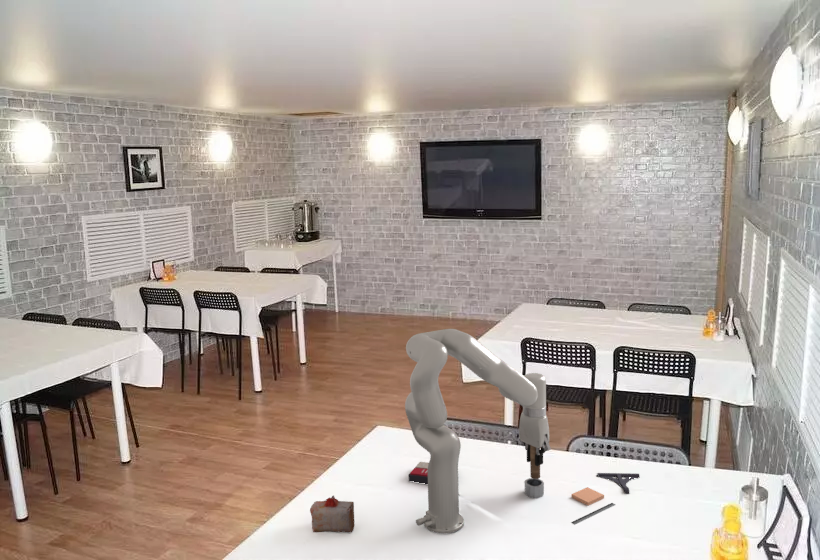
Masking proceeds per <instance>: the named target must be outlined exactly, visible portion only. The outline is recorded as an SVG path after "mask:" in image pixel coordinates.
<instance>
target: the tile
mask: <svg viewBox="0 0 820 560" xmlns="http://www.w3.org/2000/svg"><path fill="white" fill-rule="evenodd" d="M571 498H572V499H574V500H576V501H578V502H580V503H582V504H584V505H587V506H590V505H592V504H595V503H596V502H599V501H602V500H603V499H605V494H604V493H601V492H598V491H596V490H595V489H592V488H589V487H585V488H583V489H581V490H578V491H575V492H573V493H571Z"/></svg>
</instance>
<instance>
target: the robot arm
mask: <svg viewBox="0 0 820 560" xmlns="http://www.w3.org/2000/svg"><path fill="white" fill-rule="evenodd" d="M405 351H406V355H407V356H408V358H410V359H411V360H412V361H414V362H415V363H416V364H415V366H414V368H413V370H412V372H411V374H410V378H409V386H410V391H411V392H409V394H408V395H407V396H406V398H405V403H404V411H405V414H406V417H407V420H408V424H409V427H410V429H411V432H412V435H413V437H414V440H415V441H416V442H417V444H418V445H420V446H421V448H423V449H424V450H425V451H427V452H428V453H429V454H430V455H429V456H430V459H429V461H428V463H429V464H428V485H427V494H428V496H427V500H428V501H427V502H428V503H427V504H428V510H425V515H423V517H420V518H418V519H415V523H416V526H418V527H419V526H421V525H423V526H424V528H426V529H427V530H428V531H430V532H431V533H432V532H433V533H437V534H441V535H442V534H452V533H455V532H458V531H459V530H461V529H462V528H463V527H464V524H465V520H464V517H463V515H461V514H460V507H459V505H460V501H459V496H460V495H459V460H460V453H461V446H462V444H461V440H460V438H459V436H458V434H457V433H456V432H455V431H454V430H453V429H451V428H450V427H448V426H447V425H445V424H446V422H447V418H448V410H447V407H446V403H445V401H444V397H443V394H442V392H441V388H440V385H439V376H440V374H441V371H442V370H443V368H444V367H445V365H446V363H447V361H448V358H449V357H448V356H450V357H452V358H454V359H456V360H457V361H459V362H460V363H461V364H462V365H463V366H465V367H466V368H468V369H469V370H470V371H471V372H472V373H473V374H475V375H476V376H477V377H478V378H479V379H482V380H483V381H484V382H486V383H488V384H490V385H492V386H495V387H497V388H498V392H499V393H500V395H501V396H502V397H504V398H505V399H508V400H510V401H512V402H514V403H516V404H518V405H519V406H522V412H521V414H520V419H519V427H518V428H519V430H518V437H519V440H520V441H521V442H522V443H523V445H524V449H525V451H526V462H527V463H530V445H532V446H534V447H536V455H535V465H536V466H539V465H540V466H541V465H543V464H544V454H545V453H546V452H548V451H551V446H550V426H549V420H548V419H549V418H548V416H547V381H546V379H547V378H546V377H545V375H543V374H542V373H538V372H537V373H536V372H531V373H527V374H525V375H523V374H522V373H520V372H519V371H517V370H516V369H514V367H512V366H510V365H509V364H508V363H506V362H505V361H503V360H502V359H501V358H500V357H498V356H497V355H495V354H494V353H493V352H492V351H490V350H489V349H488V348H487V347H486V346H485V345H484V344H482V343H481V342H480V341H479V340H478V339H476V338H475V337H474V336H472V335H470V334H469V333H467V332H464V331H462V330H459V329H456V328H445V329H438V330H433V331H428V332H421V333H417V334H413V335H412V336H411V337H410V338H409V339H408V341H407V342H406V345H405Z"/></svg>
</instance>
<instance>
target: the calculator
mask: <svg viewBox="0 0 820 560" xmlns="http://www.w3.org/2000/svg"><path fill="white" fill-rule="evenodd" d="M428 464H429V462H426V461H419V462H418V463H417V464H416V465H415V467H414V468H413V469H412V470H411V471H410V472H409V473H408V482H409V481H414V482H419V483H425V484H424V485H426V484H428ZM419 483H418V484H419Z"/></svg>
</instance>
